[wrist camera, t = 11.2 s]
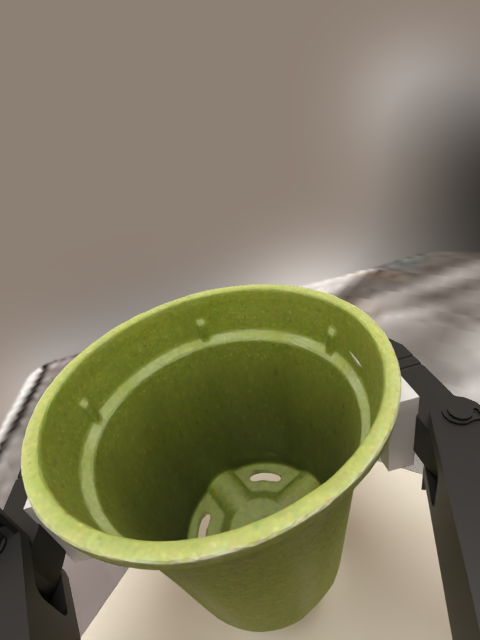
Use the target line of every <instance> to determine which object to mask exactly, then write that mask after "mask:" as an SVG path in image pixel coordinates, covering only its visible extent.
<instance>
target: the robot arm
mask: <svg viewBox="0 0 480 640" xmlns="http://www.w3.org/2000/svg"><path fill="white" fill-rule="evenodd" d="M313 290H317V291H321V292H324V293H327V292H326V291H325V290H324V288H323V287H321V288H317V289H313ZM327 294H328V293H327ZM388 339H389V338H388ZM389 341H390V343H391V345H392V347H393V349H394V352H395V355H396V357H397V360H398V363H399V367H400V373H401V398H400V405H399V411H398V415H397V419H396V423H395V426H394V429H393V431H392V434H391V437H390V439H389V441H388V443H387V445H386V447H385V449H384V451H383V452H382V454H381V456H380V458H381V460H382V462H383V463H384V465H385V467H386V468H387V470H388V472H389V471H392V470H396V469H399V468H403V467H406V466H409V465H413V464H414V453H416V454H417V456H418V457H419V458H420V460H421V461H422V462H423V464H424V468H423V477H422V488H421V490H426V493H427V498H428V504H429V510H430V515H431V521H432V527H433V532H434V538H435V544H436V549H437V555H438V561H439V566H440V572H441V578H442V583H443V589H444V595H445V600H446V606H447V612H448V617H449V623H450V629H451V634H452V640H480V405H479V404H478V403H476V402H475V401H472V400H470V399H467V398H465V397H458V396H454V395H453V394H452V393H451V392H450V391H449V390H448V389H447V388H446V387H445V386H444V385H443V384H442V383H441V382H440V381H439V380H438V379H437V378H436V377H435V376H434V375H433V374H432V373H431V372H430V371H429V370H428V369H427V368H426V367H425V366H423V365H421V363H420V362H419V361H418V360H417V359H416V358H415V357H413V355H412V354H411V353H410V352H409V351H408V350H407V349H406V348H405V347H404V346H403V345H402V344H399V343H397V342H395V341H393V340H391V339H389ZM349 352H350V351H349ZM350 354H351V356H352V357H353V359H354V360H355V362H356V364H357V365H358V366H360V367H361V365H360V364H359V362H358V361H357V359H356V358H355V357H354V356H353V354H352V353H351V352H350ZM65 554H67V555H68V556H69V557H70V558H71V559H72V560H73V561H74V562H75V563H76V562H80V561H83V560H87V559H90V558H93V557H90V556H88V555H86V554H84V553H82V552H80V551H78V550H76V549H75V548H73V547H71V546H70V545H68V544H67V543H66V542H64V541H63V540H62V539H60V538H59V537H58V536H57V535H55V534H54V533H53V532H52V531H51V530H50V529H48V528H47V527H46V526H45V525H44V524H43V523H42V522H41V520H40V519H39V518H38V516H37V515H36V513H35V512H34V510H33V508H32V506H31V504H30V502H29V499H28V497H27V494H26V491H25V487H24V483H23V478H22V474H21V470H20V472H19V474H18V480H16V481H15V484H14V486H13V488H12V491H11V493H10V495H9V498H8V500H7V502H6V504H5V507H4V509H3V510H2V509H0V640H81V638H80V633H79V628H78V623H77V618H76V613H75V608H74V603H73V598H72V593H71V588H70V583H69V578H68V576H67V574H66V572H65V571H64V570H63V569H62V566H63V562H64V558H65Z"/></svg>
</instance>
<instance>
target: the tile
mask: <svg viewBox="0 0 480 640" xmlns="http://www.w3.org/2000/svg"><path fill="white" fill-rule="evenodd" d="M422 477H423V475H421V474H418V473H414V472H411V471H408V470H405V469H401V468H399V469H396V470H392V471H389V472H388V470H387V468H386V467H385V465H384V463H382V462H379V461H377V462H376V463H375V465H374V466H373V468H372V469H371V471H370V472H369V473H368V474H367V475H366V477H365V478H364V479H363V480H362V481H361V482H360V483H359V484H358V485H357V486H356V488H355V489H354V491H353V496H352V502H351V507H350V512H349V518H348V523H347V528H346V534H345V539H344V545H343V550H342V556H341V561H340V566H339V569H338V572H337V575H336V578H335V580H334V583H333V585H332V586H331V588H330V589H329V591H328V592H327V593H326V594H325V596H324V597H323V598H322V600H321V601H320V602H319V603H318V604H317V605H316V606H315V607H314V608H313V609H312V610H311V611H310V612H309V613H308V614H307V615H306V616H305V617H304V618H303V619H301V620H300V621H298V622H296V623H295V624H293V625H290V626H288V627H286V628H283V629H279V630H274V631H267V632H252V631H246V630H242V629H238V628H236V627H233V626H231V625H228V624H226V623H225V622H223V621H221V620H219V619H218V618H217V617H215V616H214V615H213V614H212V613H210V612H209V611H208V610H207V609H205V608H204V607H203V606H202V605H201V604H199V603H198V602H197V601H196V600H195V599H194V598H192V597H191V596H190V595H189V594H188V593H187V592H186V591H185V590H183V589H182V588H181V587H180V586H179V585H177V584H176V583H175V582H174V581H172V580H171V579H170V578H168V577H167V576H166V575H165V574H163V573H162V572H161V571H160V570H143V569H136V568H130V567H129V569H128V570H127V572H126V573H125V575H124V576H123V578H122V579H121V580H120V582H119V583H118V585H117V586H116V588H115V589H114V591H113V592H112V594H111V595H110V596H109V598H108V599H107V601H106V602H105V604H104V605H103V607H102V608H101V610H100V611H99V613H98V614H97V615H96V617H95V618H94V620H93V621H92V623H91V624H90V626H89V627H88V629H87V630H86V631H85V633H84V634H83V636H82V637H81V640H452V634H451V629H450V623H449V617H448V612H447V606H446V600H445V595H444V589H443V583H442V578H441V572H440V566H439V561H438V555H437V549H436V544H435V538H434V532H433V527H432V521H431V515H430V510H429V504H428V498H427V493H426V490H421V488H422ZM280 479H281V477H280V476H278V475H276V474H272V473H259V474H255V475H253V476H252V477H250V480H251V481H259V480H267V481H276V482H278V481H279V480H280ZM210 518H211V516H210V514H209V515H206V516H205V517H204V518H203V519H202V521H201V524H200V527H199V533H198V538H202V537H205V536H206V529H207V527H208V524H209V522H210Z"/></svg>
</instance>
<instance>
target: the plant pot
mask: <svg viewBox="0 0 480 640" xmlns="http://www.w3.org/2000/svg"><path fill="white" fill-rule="evenodd" d="M349 351H350V352H351V353H352V354H353V356H354V357H355V358H356V359H357V361H358V362H359V364H360V365H361V367H360V366H358V365H357V364H356V362H355V360H354V359H353V357H352V356H351V354H350V352H349ZM400 398H401V373H400V367H399V363H398V360H397V357H396V355H395V352H394V349H393V347H392V345H391V343H390V341H389V339H388V338H387V336H386V334H385V333H384V332H383V330H382V329H381V328H380V327H378V326H377V324H376V323H375V322H374V321H373V320H372V319H371V318H370V317H369V316H368V315H367V314H366V313H365V312H363V311H362V310H360V309H359V308H358V307H356V306H354V305H352V304H350V303H348V302H346V301H344V300H342V299H339V298H337V297H336V296H333V295H331V294H327V293H324V292H321V291H317V290H312V289H309V288H304V287H298V286H288V285H272V284H254V285H244V286H233V287H226V288H217V289H213V290H207V291H203V292H199V293H196V294H191V295H188V296H186V297H183V298H179V299H176V300H174V301H171V302H167V303H165V304H162V305H160V306H157V307H155V308H153V309H151V310H149V311H147V312H144V313H142V314H139V315H137V316H136V317H133V318H132V319H130V320H128V321H126V322H124V323H123V324H120V325H119V326H117V327H116V328H114V329H112V330H111V331H109V332H108V333H106V334H105V335H103V336H102V337H101V338H99V339H98V340H97V341H95V342H94V343H92V344H91V345H90V346H89V347H87V348H86V349H85V350H84V351H83V352H82V353H80V354H79V355H78V356H77V357H76V358H74V359H73V360H72V361H71V362H70V363H69V364H68V365H67V366H66V367H65V368H64V369H63V370H62V371H61V372H60V373H59V375H58V376H57V377H56V378H55V379H54V381H53V382H52V383H51V384H50V386H49V387H48V388H47V389H46V391H45V392H44V394H43V395H42V397H41V398H40V400H39V402H38V403H37V405H36V407H35V410H34V412H33V414H32V416H31V419H30V421H29V424H28V426H27V430H26V433H25V437H24V440H23V445H22V456H21V474H22V478H23V483H24V487H25V491H26V494H27V497H28V499H29V502H30V504H31V506H32V508H33V510H34V512H35V513H36V515H37V516H38V518H39V519H40V520H41V522H42V523H43V524H44V525H45V526H46V527H47V528H48V529H50V530H51V531H52V532H53V533H54V534H55V535H57V536H58V537H59V538H60V539H62V540H63V541H64V542H66V543H67V544H68V545H70V546H71V547H73V548H75V549H76V550H78V551H80V552H82V553H84V554H86V555H88V556H90V557H93V558H95V559H98V560H101V561H104V562H107V563H111V564H114V565H118V566H123V567H130V568H136V569H143V570H160V571H161V572H162V573H163V574H165V575H166V576H167V577H168V578H170V579H171V580H172V581H174V582H175V583H176V584H177V585H179V586H180V587H181V588H182V589H183V590H185V591H186V592H187V593H188V594H189V595H190V596H191V597H192V598H194V599H195V600H196V601H197V602H198V603H199V604H201V605H202V606H203V607H204V608H205V609H207V610H208V611H209V612H210V613H212V614H213V615H214V616H215V617H217V618H218V619H219V620H221V621H223V622H225V623H226V624H228V625H231V626H233V627H236V628H238V629H242V630H246V631H252V632H267V631H274V630H279V629H283V628H286V627H288V626H290V625H293V624H295V623H296V622H298V621H300V620H301V619H303V618H304V617H305V616H306V615H307V614H308V613H309V612H310V611H311V610H312V609H313V608H314V607H315V606H316V605H317V604H318V603H319V602H320V601H321V600H322V598H323V597H324V596H325V594H326V593H327V592H328V591H329V589H330V588H331V586H332V585H333V583H334V580H335V578H336V575H337V572H338V569H339V566H340V561H341V556H342V550H343V545H344V539H345V534H346V528H347V523H348V518H349V512H350V507H351V502H352V496H353V491H354V489H355V488H356V486H357V485H358V484H359V483H360V482H361V481H362V480H363V479H364V478H365V477H366V475H367V474H368V473H369V472H370V471H371V469H372V468H373V466H374V465H375V463H376V462H377V460H378V459H379V457H380V456H381V454H382V452H383V451H384V449H385V447H386V445H387V443H388V441H389V439H390V437H391V434H392V431H393V429H394V426H395V423H396V419H397V415H398V411H399V405H400ZM259 473H272V474H276V475H278V476H280V477H281V479H280V480H279V481H278V482H276V481H267V480H259V481H251V480H250V477H252V476H253V475H255V474H259ZM209 514H210V516H211V518H210V522H209V524H208V527H207V529H206V536H205V537H202V538H198V533H199V527H200V524H201V521H202V519H203V518H204V517H205V516H206V515H209Z"/></svg>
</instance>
